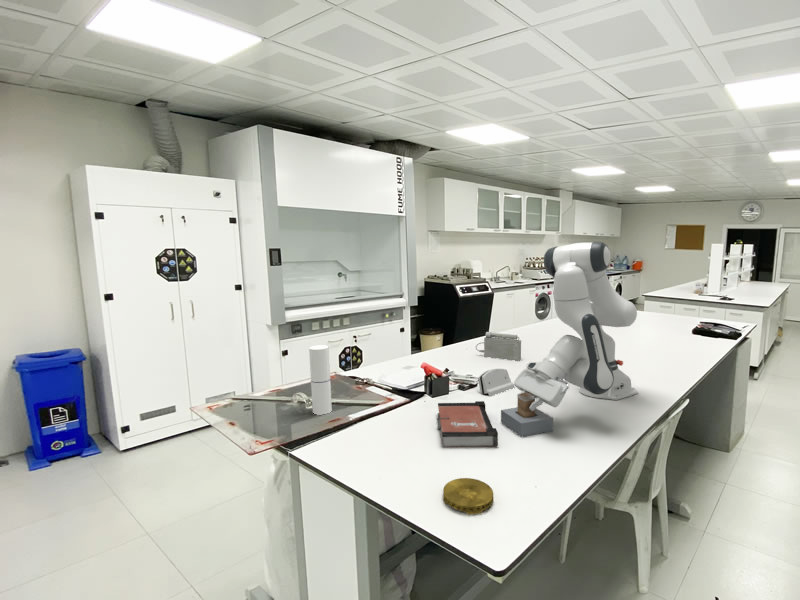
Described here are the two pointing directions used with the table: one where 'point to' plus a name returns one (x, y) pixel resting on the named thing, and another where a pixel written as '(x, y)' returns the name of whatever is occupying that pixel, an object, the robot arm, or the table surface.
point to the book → (466, 425)
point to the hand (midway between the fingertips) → (524, 406)
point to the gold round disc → (468, 495)
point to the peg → (525, 404)
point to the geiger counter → (502, 346)
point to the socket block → (526, 422)
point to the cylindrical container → (320, 379)
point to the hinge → (494, 382)
